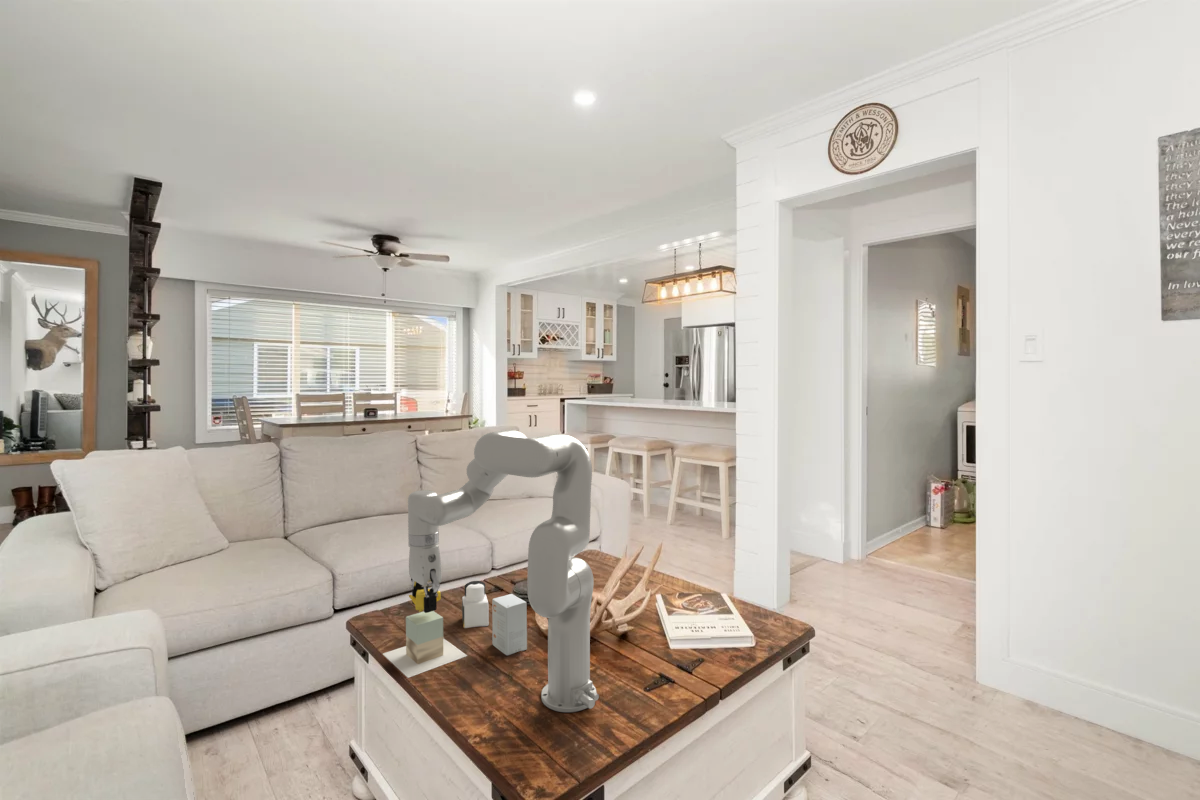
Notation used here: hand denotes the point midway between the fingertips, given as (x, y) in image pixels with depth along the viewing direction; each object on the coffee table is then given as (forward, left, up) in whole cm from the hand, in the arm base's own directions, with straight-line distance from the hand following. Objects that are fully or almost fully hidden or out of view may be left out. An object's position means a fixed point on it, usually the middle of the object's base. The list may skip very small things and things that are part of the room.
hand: (424, 606), depth 145 cm
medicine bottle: (+9, -20, -13) cm, 26 cm away
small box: (-11, -19, -14) cm, 26 cm away
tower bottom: (0, 0, -13) cm, 13 cm away
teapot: (0, 0, -1) cm, 1 cm away
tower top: (0, 0, -8) cm, 8 cm away
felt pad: (0, 0, -13) cm, 13 cm away
